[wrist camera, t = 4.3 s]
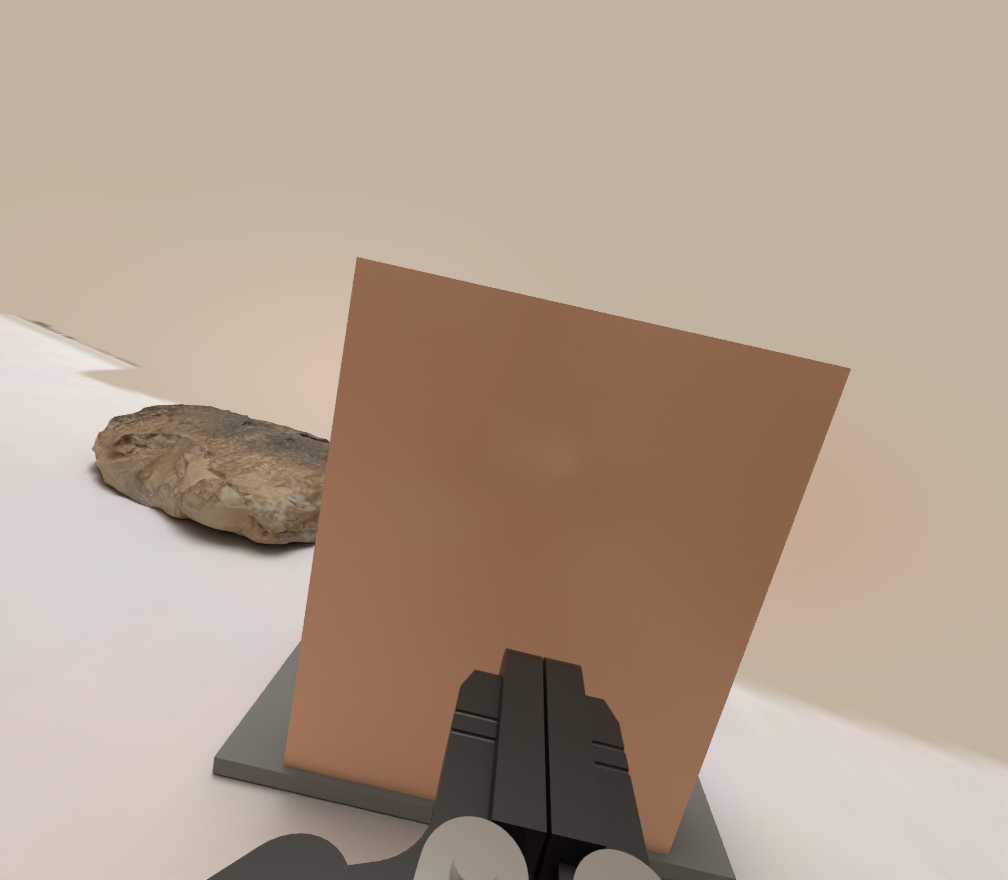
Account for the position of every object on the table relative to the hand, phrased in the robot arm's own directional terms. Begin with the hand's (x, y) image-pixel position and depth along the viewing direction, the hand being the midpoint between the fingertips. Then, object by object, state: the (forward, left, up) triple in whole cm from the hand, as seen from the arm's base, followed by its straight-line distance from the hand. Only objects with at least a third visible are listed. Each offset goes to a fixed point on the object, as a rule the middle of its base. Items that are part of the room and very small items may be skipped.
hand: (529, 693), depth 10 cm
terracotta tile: (0, +5, -7) cm, 9 cm away
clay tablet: (-19, +24, -9) cm, 32 cm away
